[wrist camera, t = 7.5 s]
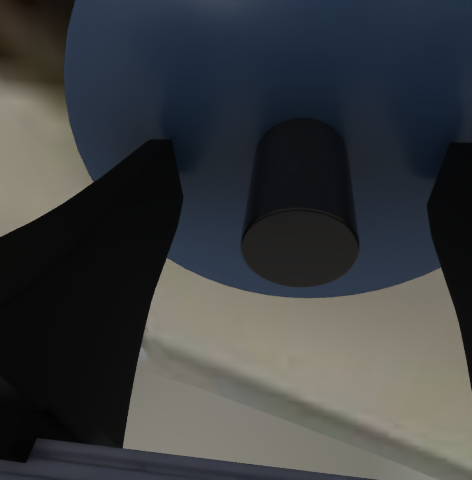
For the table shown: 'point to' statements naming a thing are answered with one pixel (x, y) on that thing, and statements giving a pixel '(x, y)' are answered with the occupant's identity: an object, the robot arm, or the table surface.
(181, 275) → the table surface
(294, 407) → the table surface
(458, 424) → the table surface
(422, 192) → the pot lid
